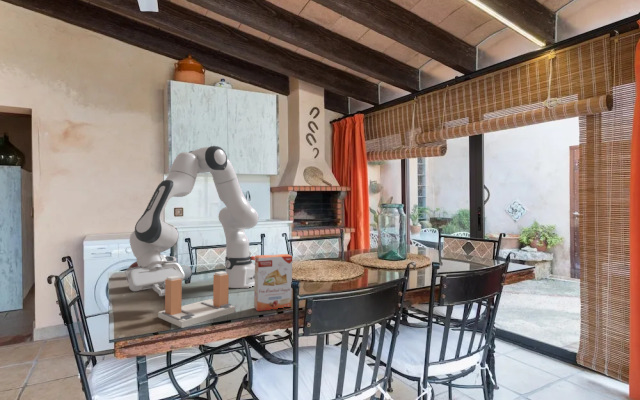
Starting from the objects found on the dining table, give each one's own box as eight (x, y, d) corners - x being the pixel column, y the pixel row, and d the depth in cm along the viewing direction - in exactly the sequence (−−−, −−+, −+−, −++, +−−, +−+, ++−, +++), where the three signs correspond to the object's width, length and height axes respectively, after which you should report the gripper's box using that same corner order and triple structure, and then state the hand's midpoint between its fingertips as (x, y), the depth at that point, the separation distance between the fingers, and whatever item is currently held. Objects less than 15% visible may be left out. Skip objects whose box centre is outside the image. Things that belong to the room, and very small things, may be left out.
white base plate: (210, 303, 149) (210, 296, 149) (235, 312, 139) (235, 304, 139) (158, 317, 132) (158, 309, 132) (182, 327, 122) (182, 318, 122)
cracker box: (257, 312, 139) (257, 257, 139) (253, 307, 145) (254, 255, 145) (292, 308, 145) (292, 255, 145) (287, 303, 150) (287, 253, 150)
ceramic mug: (192, 278, 193) (192, 264, 193) (182, 281, 186) (182, 266, 186) (176, 277, 197) (176, 262, 197) (165, 280, 189) (165, 265, 189)
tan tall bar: (222, 303, 143) (222, 271, 143) (228, 305, 140) (228, 272, 140) (213, 305, 140) (213, 272, 139) (219, 308, 137) (219, 274, 137)
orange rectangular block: (175, 310, 134) (175, 275, 134) (181, 312, 132) (181, 277, 131) (165, 312, 131) (165, 277, 131) (170, 315, 128) (171, 278, 128)
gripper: (126, 263, 132) (138, 295, 126) (179, 256, 148) (192, 284, 142) (120, 274, 135) (132, 305, 129) (173, 266, 150) (185, 294, 144)
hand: (164, 294), depth 135 cm, fingers closed
